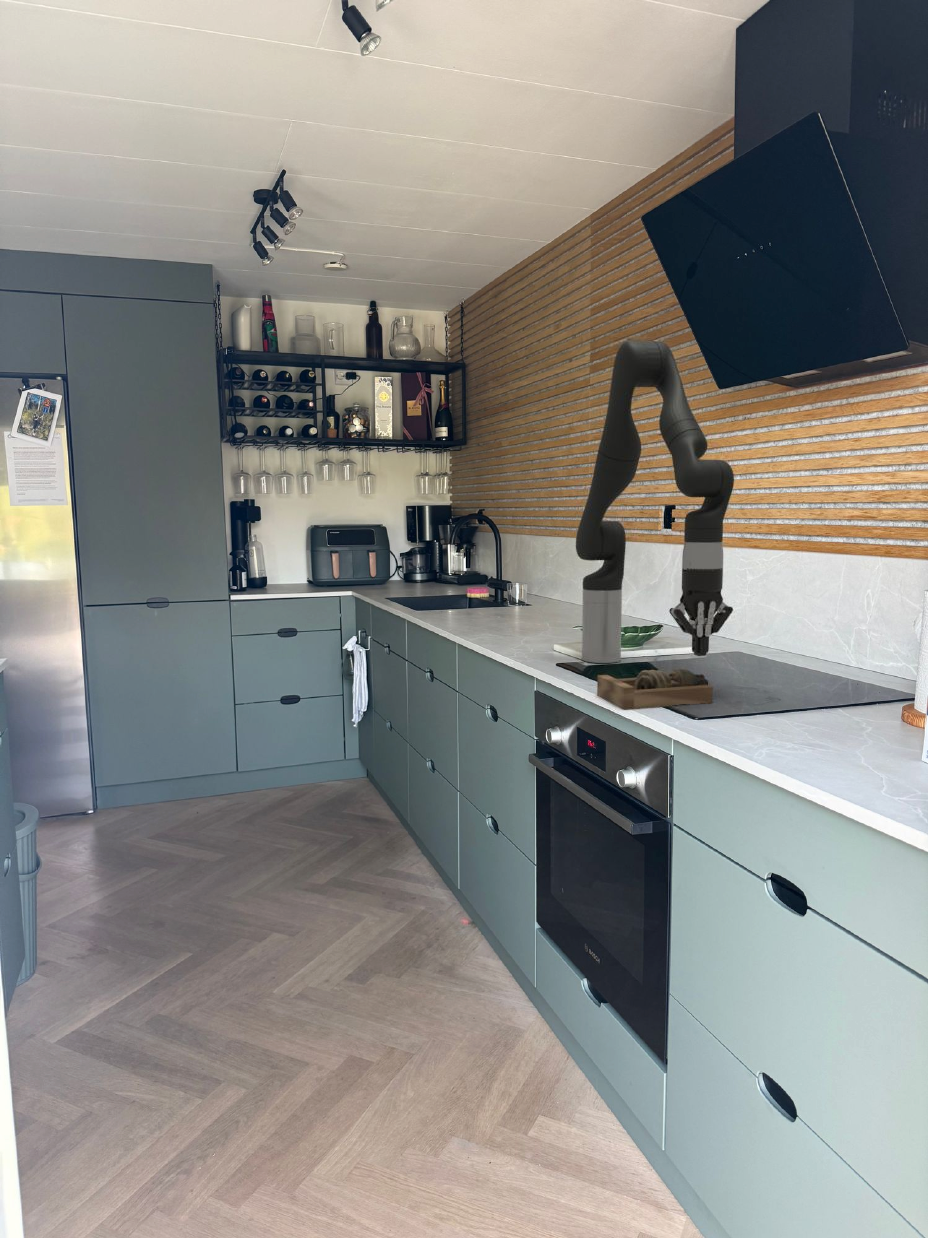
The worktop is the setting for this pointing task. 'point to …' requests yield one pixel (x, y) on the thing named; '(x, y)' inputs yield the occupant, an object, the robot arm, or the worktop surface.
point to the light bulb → (668, 679)
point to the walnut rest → (649, 694)
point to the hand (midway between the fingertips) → (699, 655)
